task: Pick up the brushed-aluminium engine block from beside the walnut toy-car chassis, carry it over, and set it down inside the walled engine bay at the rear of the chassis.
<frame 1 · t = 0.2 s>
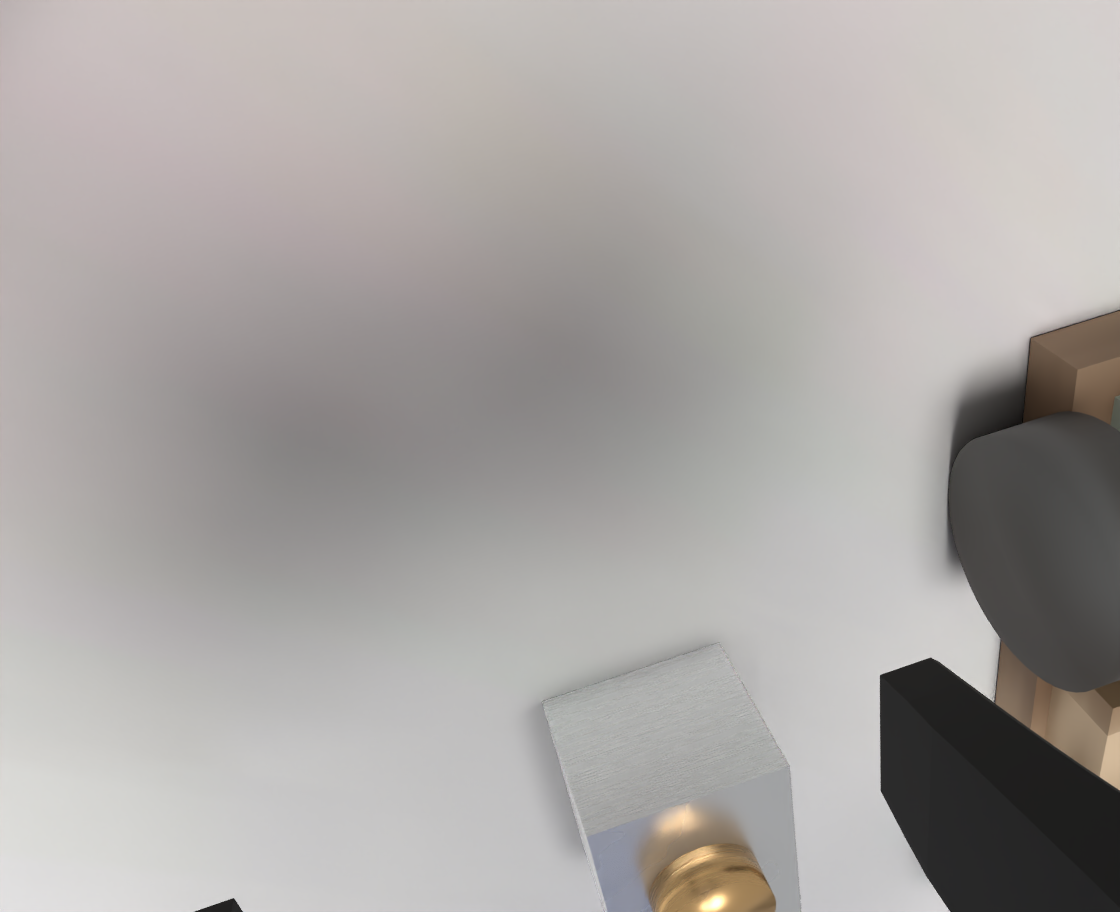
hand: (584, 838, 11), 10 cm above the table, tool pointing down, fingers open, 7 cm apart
engine block: (646, 747, 26), on the table
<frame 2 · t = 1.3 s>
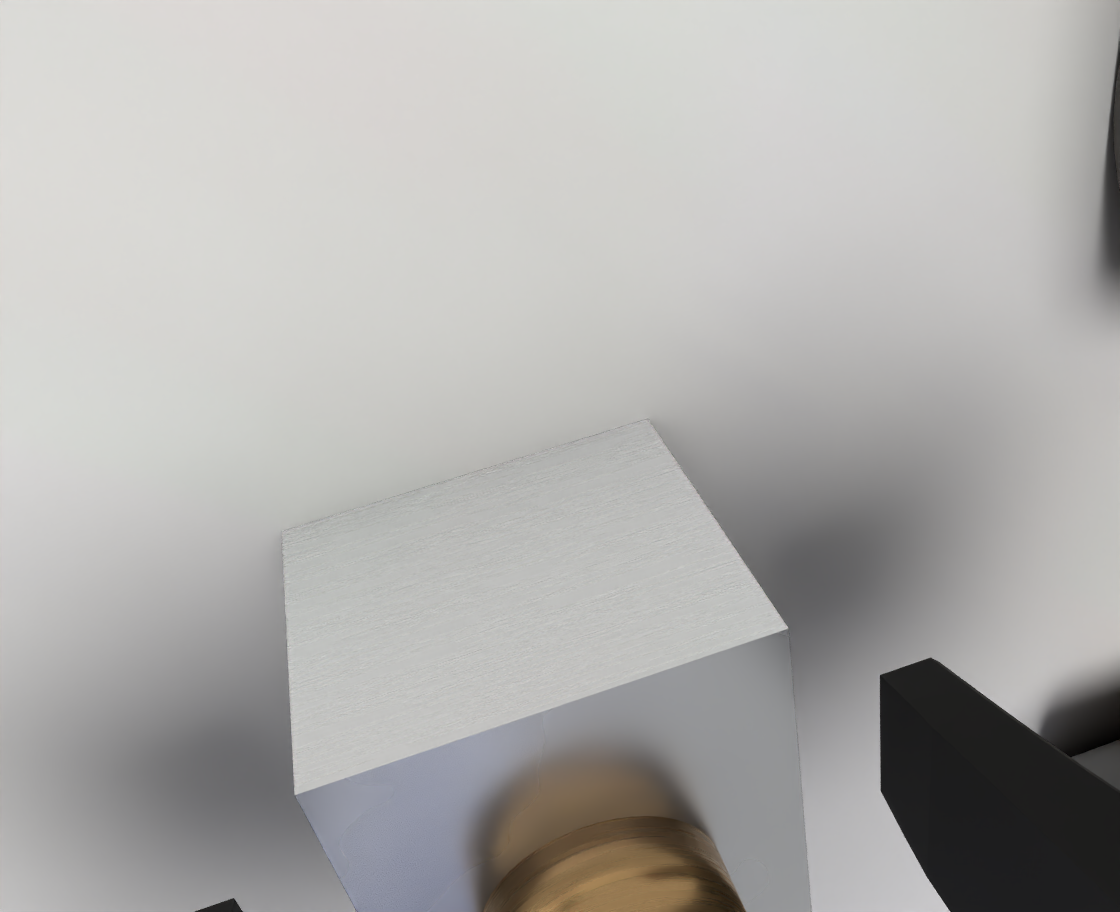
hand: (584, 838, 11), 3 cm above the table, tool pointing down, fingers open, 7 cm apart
engine block: (518, 645, 14), on the table
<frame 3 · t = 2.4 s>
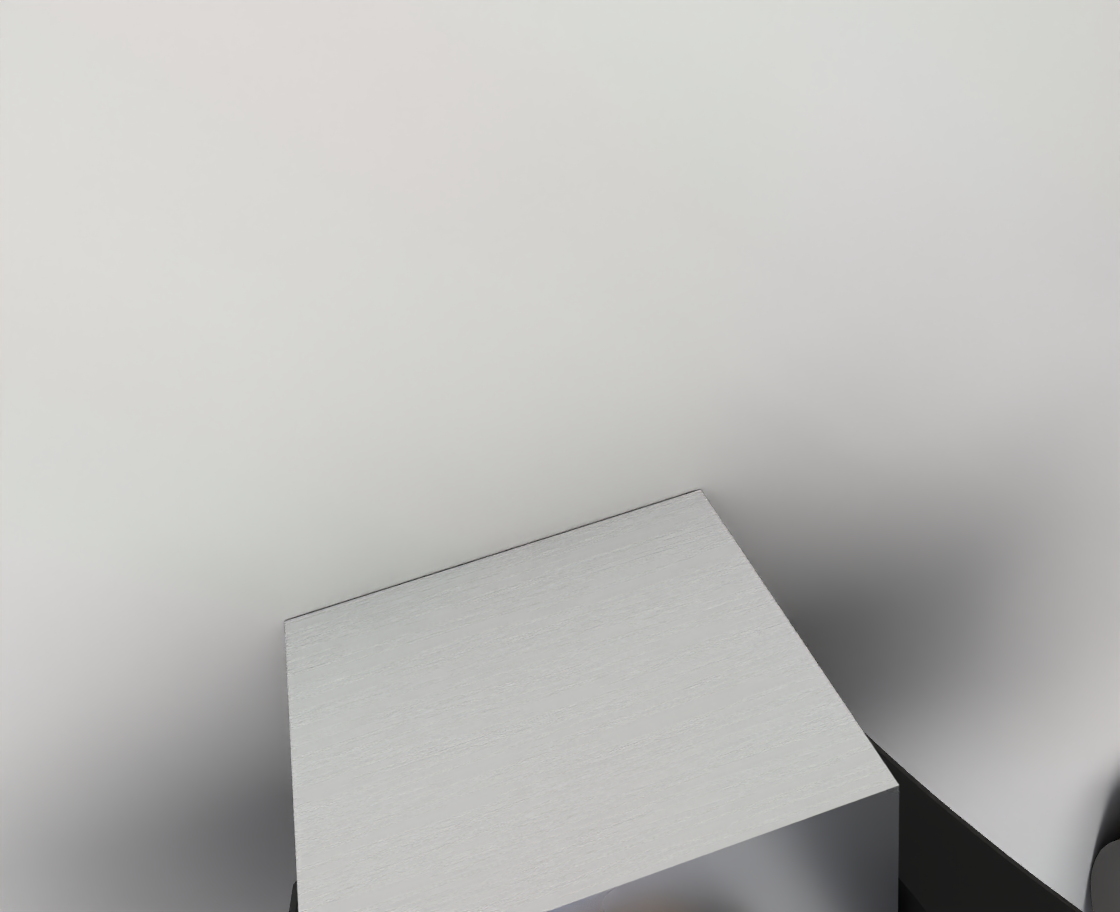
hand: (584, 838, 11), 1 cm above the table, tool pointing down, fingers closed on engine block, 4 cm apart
engine block: (551, 740, 12), on the table, touching gripper
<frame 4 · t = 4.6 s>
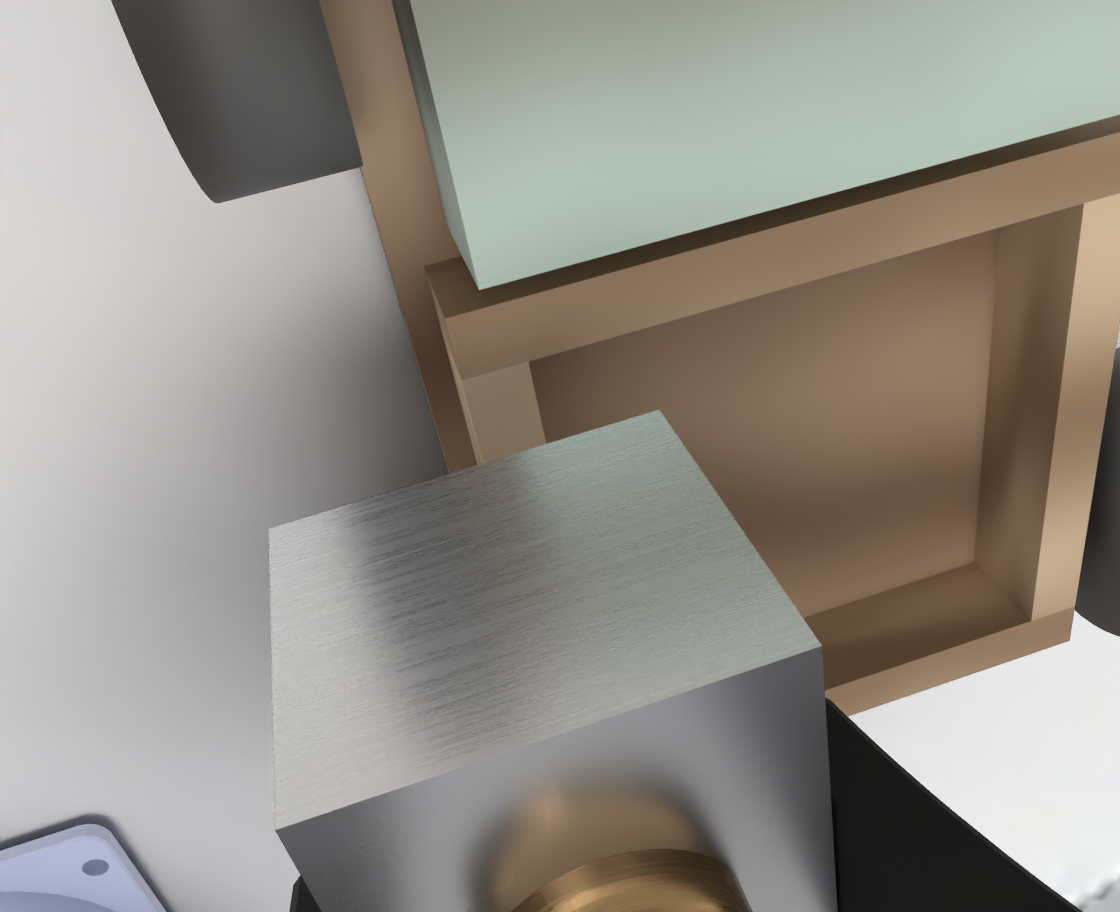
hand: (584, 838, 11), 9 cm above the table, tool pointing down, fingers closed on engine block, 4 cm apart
chassis: (727, 232, 18), on the table
engine block: (523, 656, 13), point 7 cm above the table, touching gripper
when the fingers open (4 cm above the table, at t = 6.8 s): engine block stays where it is, resting on chassis.
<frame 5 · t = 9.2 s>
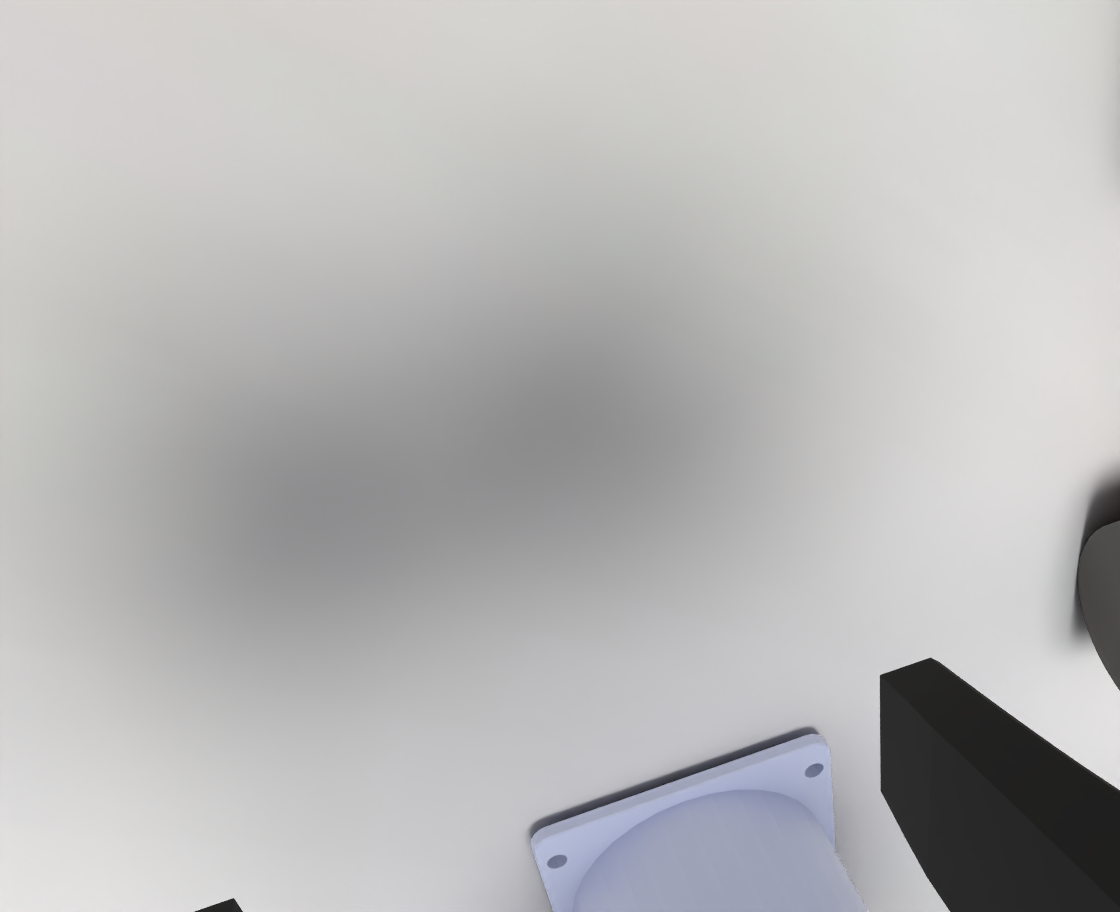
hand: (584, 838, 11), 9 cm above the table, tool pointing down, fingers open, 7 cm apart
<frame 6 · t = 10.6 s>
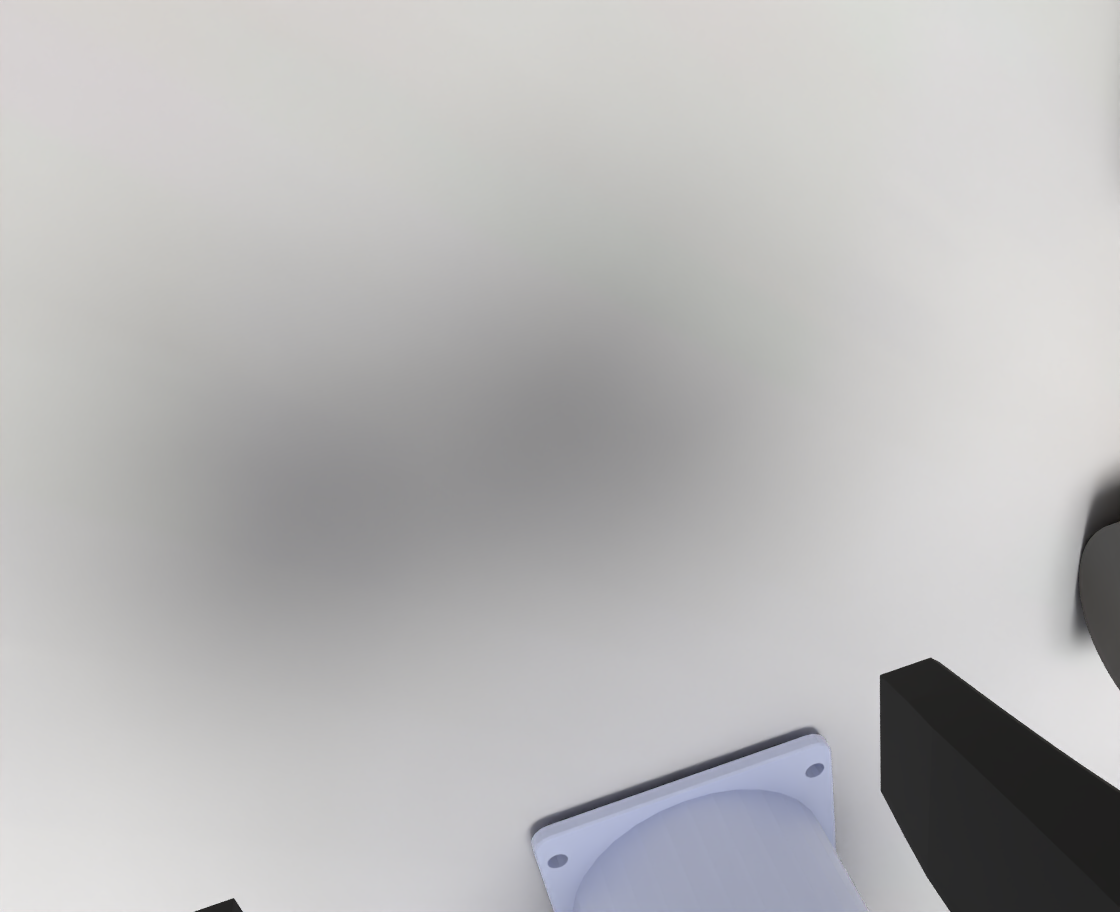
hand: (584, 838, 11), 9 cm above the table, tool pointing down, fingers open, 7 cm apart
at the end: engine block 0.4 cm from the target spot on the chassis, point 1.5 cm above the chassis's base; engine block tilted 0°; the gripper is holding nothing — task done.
